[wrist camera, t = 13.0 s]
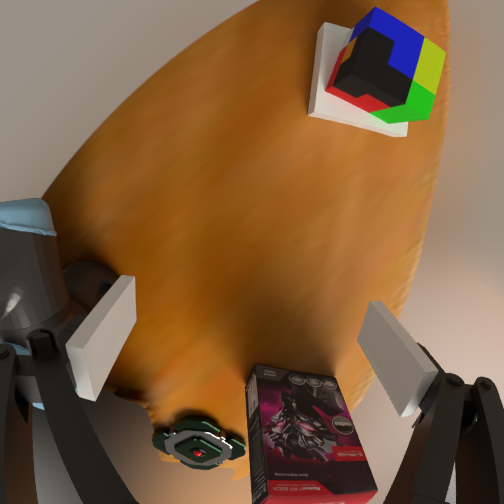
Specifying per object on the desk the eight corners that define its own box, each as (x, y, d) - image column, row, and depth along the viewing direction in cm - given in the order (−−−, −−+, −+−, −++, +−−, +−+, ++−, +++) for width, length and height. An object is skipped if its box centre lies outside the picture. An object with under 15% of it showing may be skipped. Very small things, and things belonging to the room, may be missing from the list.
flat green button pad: (201, 465, 64) (200, 479, 59) (146, 433, 59) (142, 447, 54) (253, 442, 60) (254, 457, 56) (197, 406, 56) (195, 422, 51)
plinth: (307, 115, 39) (314, 112, 35) (317, 31, 35) (324, 21, 31) (393, 136, 40) (406, 136, 37) (400, 57, 36) (412, 51, 32)
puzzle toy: (346, 33, 32) (375, 6, 22) (406, 67, 33) (445, 52, 24) (324, 91, 35) (351, 73, 25) (388, 124, 36) (428, 119, 27)
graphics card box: (338, 375, 54) (383, 491, 28) (323, 399, 56) (357, 511, 30) (254, 361, 52) (266, 497, 26) (243, 387, 54) (248, 515, 28)
